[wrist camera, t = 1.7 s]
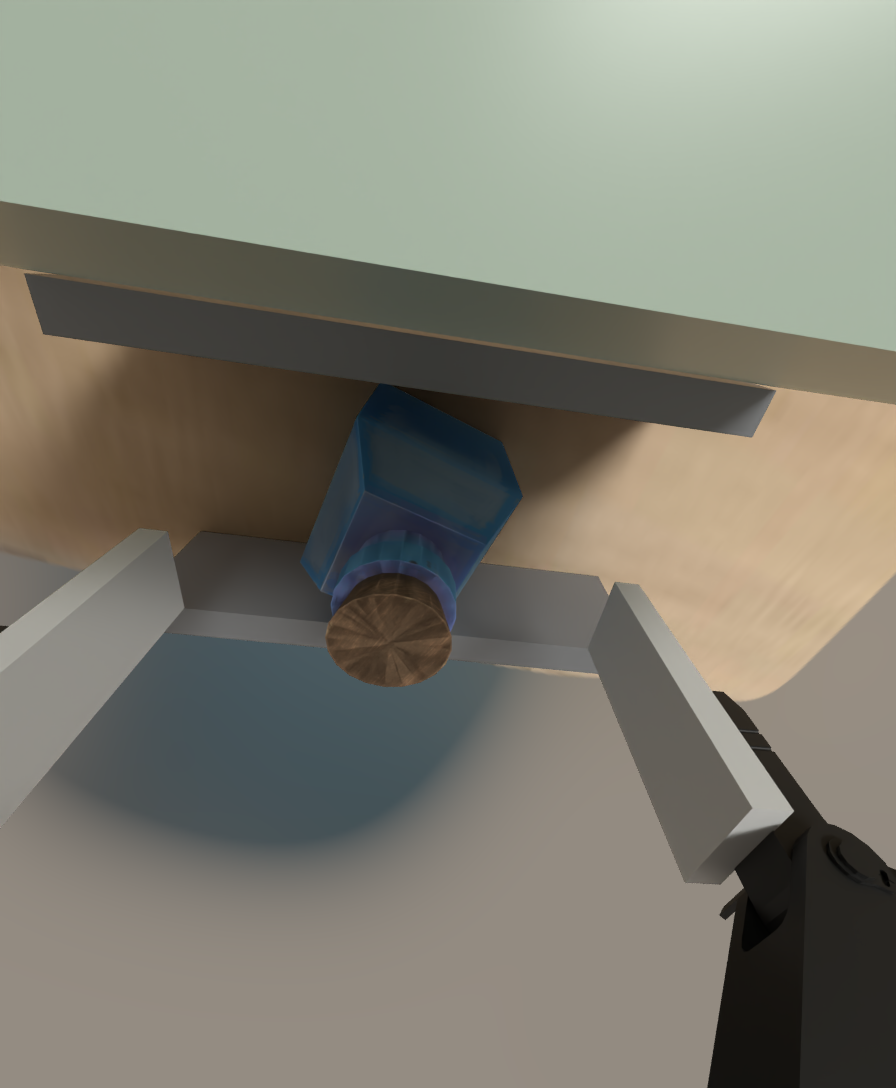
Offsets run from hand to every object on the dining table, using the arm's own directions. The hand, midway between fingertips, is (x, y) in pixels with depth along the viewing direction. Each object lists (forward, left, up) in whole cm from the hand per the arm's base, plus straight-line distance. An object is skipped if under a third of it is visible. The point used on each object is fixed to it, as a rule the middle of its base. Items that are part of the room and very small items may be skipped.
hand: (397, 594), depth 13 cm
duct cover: (-8, 0, +3) cm, 8 cm away
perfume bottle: (0, 0, -10) cm, 10 cm away
